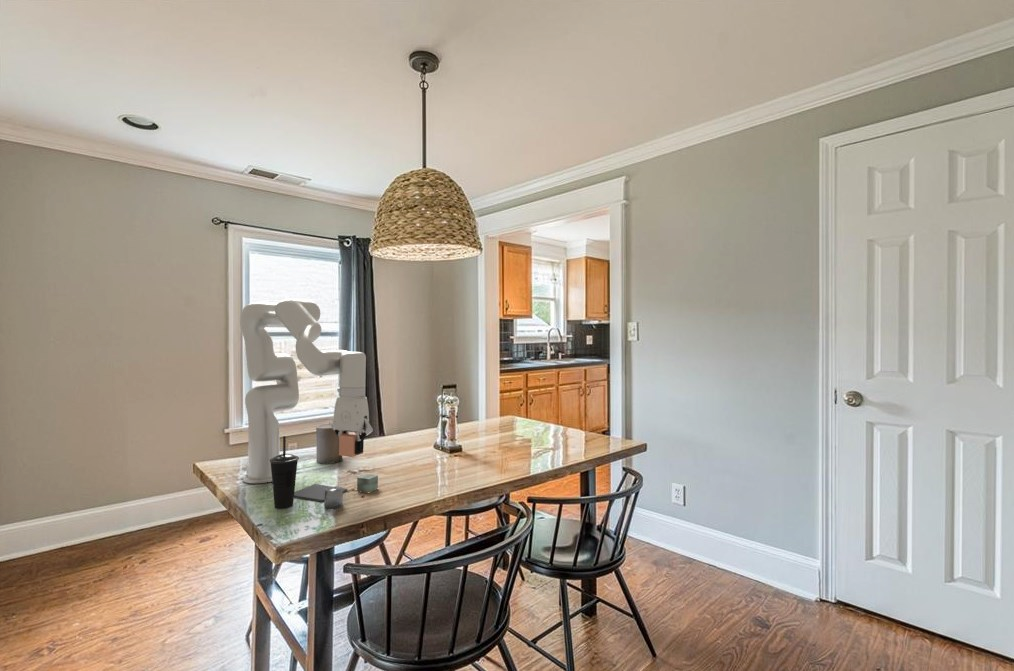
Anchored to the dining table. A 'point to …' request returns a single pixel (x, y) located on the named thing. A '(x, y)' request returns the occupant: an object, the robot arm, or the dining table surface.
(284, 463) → the drinking cup
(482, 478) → the dining table surface
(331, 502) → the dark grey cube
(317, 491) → the black mat
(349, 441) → the terracotta block
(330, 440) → the pillar candle
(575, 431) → the dining table surface
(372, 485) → the green cube
